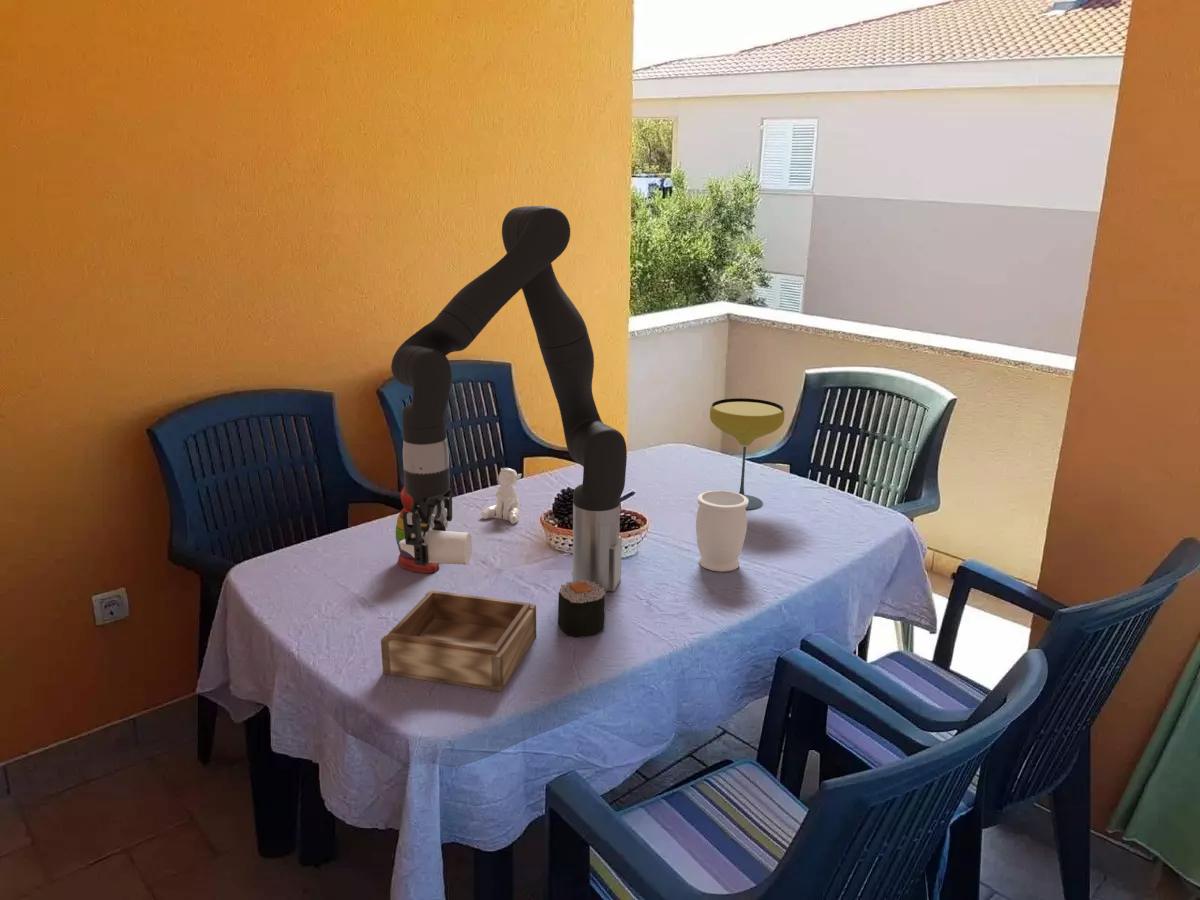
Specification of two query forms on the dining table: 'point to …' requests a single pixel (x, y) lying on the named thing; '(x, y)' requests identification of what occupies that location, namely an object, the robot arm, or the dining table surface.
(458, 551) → the roll
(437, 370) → the robot arm
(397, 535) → the stacking bear
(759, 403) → the cocktail glass
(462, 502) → the dining table surface
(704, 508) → the jar
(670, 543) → the dining table surface
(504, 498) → the sitting furry creature
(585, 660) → the dining table surface
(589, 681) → the dining table surface
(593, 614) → the sushi
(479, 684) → the box
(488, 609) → the upper crate
